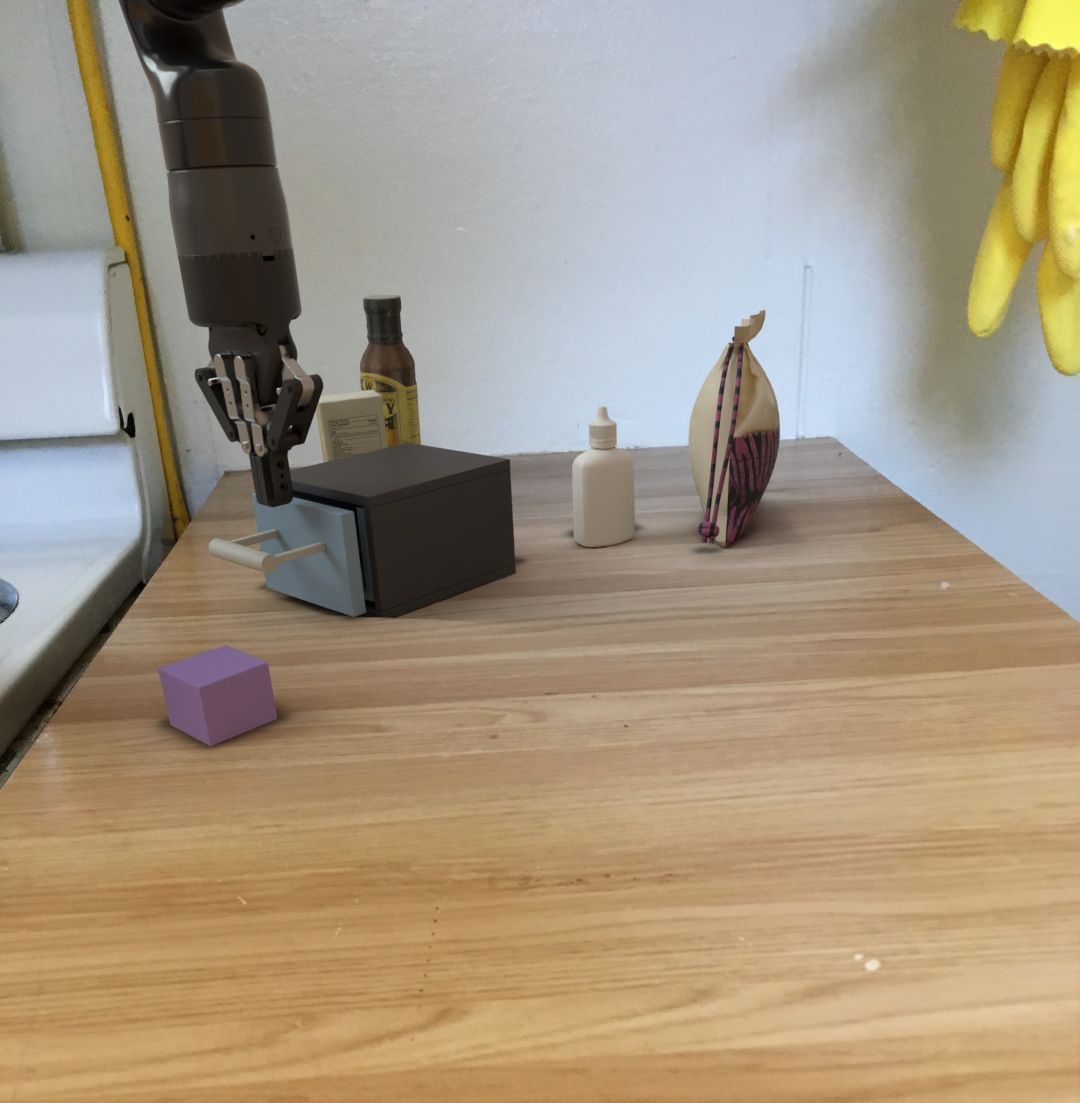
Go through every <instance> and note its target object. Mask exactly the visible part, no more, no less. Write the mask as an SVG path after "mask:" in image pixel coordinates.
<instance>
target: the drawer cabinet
mask: <svg viewBox="0 0 1080 1103" xmlns="http://www.w3.org/2000/svg"><path fill="white" fill-rule="evenodd" d="M290 475H291V476H290V477H291V482H292V488H293V490H295V491H299V492H304V493H308V494H312V495H317V496H321V497H326V498H330V499H334V500H339V501H343V502H347V503H352V504H356V505H360V506H365V507H364V512H365V521H366V530H367V538H368V547H369V555H370V564H371V573H372V581H373V590H374V598H375V602H372V601H369V600H365V599H364V600H365V608H366V613H364V614H361V616H364V617H367V618H380V619H381V618H382V619H394V618H397V617H400V616H402V615H405V614H408V613H410V612H413V611H416V610H418V609H422V608H424V607H426V606H429V605H432V604H435V603H438V602H439V601H440V602H441V601H443V600H446V599H448V598H451V597H453V596H456V595H460V594H461V593H464V592H467V591H470V590H473V589H475V588H478V587H480V586H483V585H486V584H488V583H492V582H495V581H497V580H500V579H502V578H505V577H507V576H510V575H513V574H515V573H517V566H516V550H515V549H516V548H515V531H514V530H515V528H514V510H513V494H512V492H513V490H512V476H511V475H512V474H511V459H510V458H506V457H505V458H504V457H500V456H499V457H498V456H493V455H486V454H480V453H475V452H468V451H462V450H455V449H450V448H443V447H437V446H431V445H425V444H421V445H419V444H413V443H405V444H400V445H396V446H392V447H388V448H383V449H379V450H375V451H371V452H366V453H362V454H358V455H353V456H349V457H345V458H341V459H336V460H332V461H328V462H324V461H323V462H320V463H316V464H311V465H307V466H302V467H298V468H294V469H290Z"/></svg>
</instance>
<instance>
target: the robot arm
mask: <svg viewBox="0 0 1080 1103" xmlns="http://www.w3.org/2000/svg"><path fill="white" fill-rule="evenodd" d="M245 1H246V0H118V4H119V6H120V10H121V12H122V15H123V18H124V22H125V24H126V27H127V29H128V30H127V31H128V32H129V36H130V38H131V40H132V43H133V46H134V49H135V52H136V55H137V57H138V58H137V59H138V60H139V62H140V66H141V68H142V70H143V72H144V75H145V77H146V79H147V82H148V84H149V87H150V89H151V91H152V94H153V95H152V96H153V98H154V105H155V114H156V121H157V126H158V132H159V138H160V143H161V144H160V145H161V149H162V154H163V160H164V166H165V170H166V171H167V172H166V178H167V188H168V206H169V208H168V209H169V215H170V222H171V227H172V233H173V238H174V243H175V249H176V255H177V260H178V266H179V271H180V276H181V281H182V282H181V283H182V288H183V293H184V299H185V305H186V310H187V316H188V319H189V321H190V322H191V324H192V325H194V326H196V327H201V328H208V344H207V348H208V354H209V356H210V360H209V363H208V365H207V366H206V367H200V368H196V369H195V370H194V379H195V382H196V383H197V385H198V387H199V389H200V391H201V392H202V394H203V397H204V398H205V400H206V402H207V403H208V405H209V407H210V409H211V410H212V413H213V414H214V416H215V418H216V420H217V421H218V423H219V425H220V427H221V430H222V431H223V433H224V435H225V436H226V438H227V440H228V441H229V442H230V443H236V442H238V443H239V444H240V446H241V449H242V451H243V452H244V453H245V454H246V455H248V458H249V464H250V471H251V475H252V481H253V482H252V483H253V488H254V493H256V499H257V502H258V503H259V504H261V505H265V506H269V507H277V506H281V505H285V504H289V503H290V502H291V501H292V500H293V488H292V482H291V477H290V476H291V475H290V470H291V469H290V462H289V451H291V450H292V448H293V447H296V446H301V445H304V444H305V443H306V440H307V437H308V436H309V435H308V434H309V431H310V429H311V426H312V422H313V420H314V417H315V413H316V408H317V405H318V402H319V399H320V396H322V393H323V390H324V381H323V378H322V377H321V375H320V374H318V373H315V374H314V373H313V374H307V373H306V372H305V371H304V369H303V368H302V367H301V366H300V364H299V363H298V349H297V346H296V343H295V341H294V339H293V336H292V333H291V329H290V325H291V322H292V321H294V320H297V319H299V317H300V316H301V314H302V301H301V294H300V287H299V280H298V272H297V266H296V259H295V252H294V244H293V237H292V236H293V235H292V230H291V222H290V215H289V208H288V203H287V199H286V195H285V192H284V191H285V190H284V187H283V183H282V179H281V175H280V170H279V167H278V166H279V163H278V157H277V156H278V155H277V150H276V149H277V148H276V142H275V134H274V128H273V121H272V112H271V107H270V102H269V96H268V93H267V88H266V84H265V82H264V80H263V78H262V77H261V75H260V73H259V72H258V71H257V70H256V69H255V68H253V67H252V66H251V65H249V64H247V63H245V62H242V61H240V60H238V59H237V56H236V53H235V50H234V47H233V43H232V40H231V36H230V33H229V29H228V26H227V23H226V22H227V21H226V18H225V13H224V10H226V9H230V8H232V7H235V6H237V5H240V4H242V3H243V2H245Z"/></svg>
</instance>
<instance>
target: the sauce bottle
mask: <svg viewBox="0 0 1080 1103" xmlns="http://www.w3.org/2000/svg"><path fill="white" fill-rule="evenodd" d="M362 305H363V311H364V313H365V317H366V318H365V320H366V330H367V335H366V338H367V342H368V344H367V346H366V349H364V352H363V353H362V356H361V359H360V362H359V371H360V372H359V382H360V383H359V384H360V391H367V390H374V391H376V392H378V393H379V394H380V395H381V397H382V404H383V413H384V420H385V428H386V436H387V443H388V447H392V446H396V445H400V444H405V443H413V444H419V445H422V438H421V437H422V436H421V424H420V410H419V396H418V383H417V380H416V362H415V360H414V358H413V355H412V353H411V352H410V350H409V349H408V348H407V346H406V345H405V343H404V340H403V337H404V333H403V332H402V319H401V312H402V298H401V296H400V295H399V294H375V295H374V294H373V295H366V296H364V297H363V298H362Z"/></svg>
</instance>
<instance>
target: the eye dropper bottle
mask: <svg viewBox="0 0 1080 1103" xmlns="http://www.w3.org/2000/svg"><path fill="white" fill-rule="evenodd" d="M617 433H618V432H617V422H616V421H614V420H612V419H611V418H610V417H609V413H608V407H607V406H606V405H599V406H597V411H596V417H595V419H594V420H592V421H590V422H589V423H588V446H589V449H587V450H585V451H583V452H582V453H580V454H579V455H578V456H576V458H575V459H574V460H573V462H572V466H571V481H572V482H571V483H572V485H571V486H572V516H573V517H572V520H573V521H572V522H573V523H572V524H573V526H572V527H573V540H574V542H575V543H576V544H578V545H580V546H583V547H585V548H599V547H600V548H602V547H608V546H613V545H618V544H621V543H624V542H627V541H629V540H631V539H633V538H634V536H635V533H636V532H635V531H636V530H635V522H636V521H635V518H636V517H635V515H636V514H635V512H636V511H635V460H634V457H633V455H632V454H631V453H630V452H629V451H627V450H625V449H623V448H619V447H616V446H618V445H617V444H618V443H617V442H618V439H617V436H618V434H617Z"/></svg>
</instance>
